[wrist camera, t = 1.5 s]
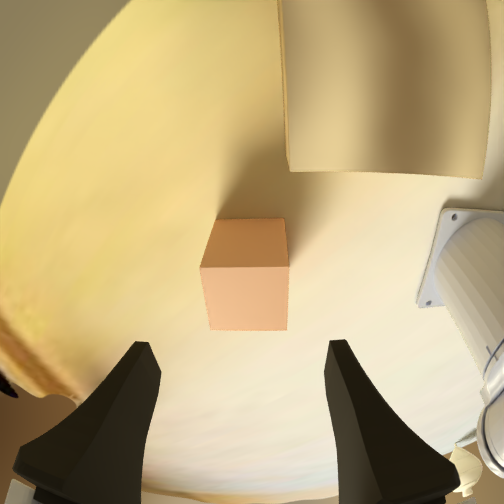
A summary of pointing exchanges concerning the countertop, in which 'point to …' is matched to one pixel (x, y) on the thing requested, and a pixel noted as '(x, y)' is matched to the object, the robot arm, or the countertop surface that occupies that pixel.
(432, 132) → the beech block
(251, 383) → the countertop surface
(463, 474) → the spinning top
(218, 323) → the terracotta block
